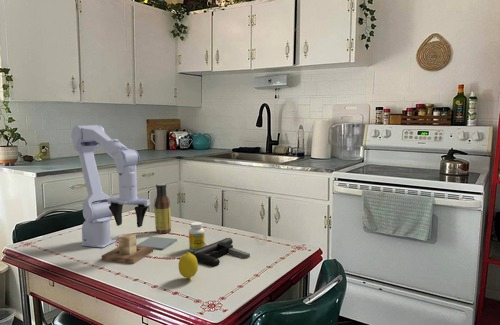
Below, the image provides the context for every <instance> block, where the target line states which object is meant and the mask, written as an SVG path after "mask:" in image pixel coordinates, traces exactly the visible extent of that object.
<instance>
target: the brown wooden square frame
mask: <svg viewBox="0 0 500 325" xmlns="http://www.w3.org/2000/svg"><path fill="white" fill-rule="evenodd" d="M136 251H137V252H135V253H134V254H132V255H124V254H119V246H117V247H115V248H113V249H112V250H110V251H108V252H106V253H104V254H102V255H101V261H108V262H114V263H122V264H131V265H134V264H136V263H138V262H139V261H141V260H142V259H144V258H145V257H147V256H148V255H151V253H153V252H154V249H153V247H144V246H136Z"/></svg>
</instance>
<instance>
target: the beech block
mask: <svg viewBox="0 0 500 325" xmlns="http://www.w3.org/2000/svg"><path fill="white" fill-rule="evenodd" d="M136 245H137V234H136V233H135V234H134V233H123V234H122V235H120V236H118V247H119V254H124V255H132V254H134V253H135V252H137V251H136Z"/></svg>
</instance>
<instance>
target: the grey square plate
mask: <svg viewBox="0 0 500 325" xmlns="http://www.w3.org/2000/svg"><path fill="white" fill-rule="evenodd" d="M177 241H178V238H172V237H171V238H170V237H161V236H160V237H159V236H149V237H148V238H146V239H145V240H143V241H141V242H139V243H136V246H144V247H153V250H159V251H163V250H165V249H167V248H168V247H169V246H171V245H172V244H175V243H176V242H177Z"/></svg>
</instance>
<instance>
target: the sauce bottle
mask: <svg viewBox="0 0 500 325" xmlns="http://www.w3.org/2000/svg"><path fill="white" fill-rule="evenodd" d="M155 189H156V198H155V201H154V219H155V220H154V223H155V232H156V233H157V234H161V235H162V234H168V233H169V234H170V232H172V213H171V201H170V198H169V197H168V195H167V183H164V182H162V183H157V184H155Z"/></svg>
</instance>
